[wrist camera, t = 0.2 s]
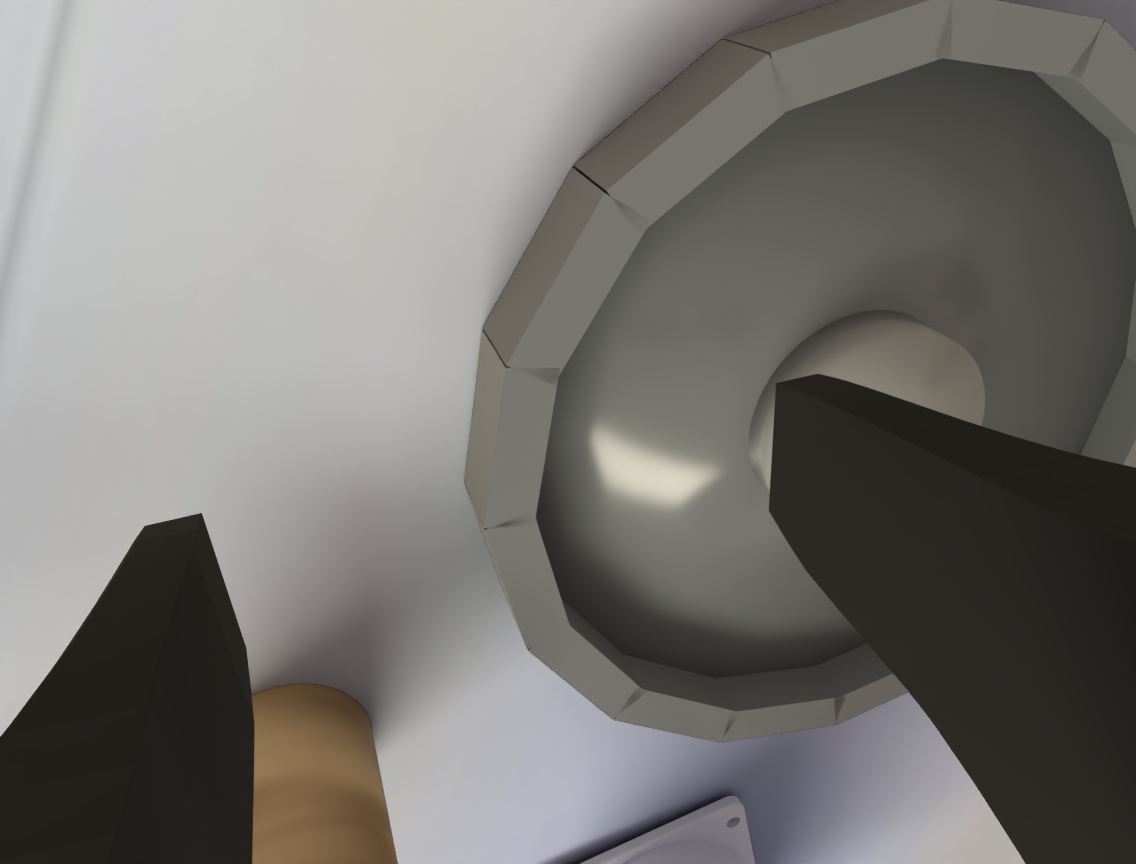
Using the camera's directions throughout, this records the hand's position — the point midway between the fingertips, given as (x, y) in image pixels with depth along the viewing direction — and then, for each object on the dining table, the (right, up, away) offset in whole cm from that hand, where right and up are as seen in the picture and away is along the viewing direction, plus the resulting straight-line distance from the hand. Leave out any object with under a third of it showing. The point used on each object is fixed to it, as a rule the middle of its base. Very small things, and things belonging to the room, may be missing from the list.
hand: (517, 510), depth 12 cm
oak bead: (-7, -7, +14) cm, 17 cm away
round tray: (+8, +2, +14) cm, 16 cm away
